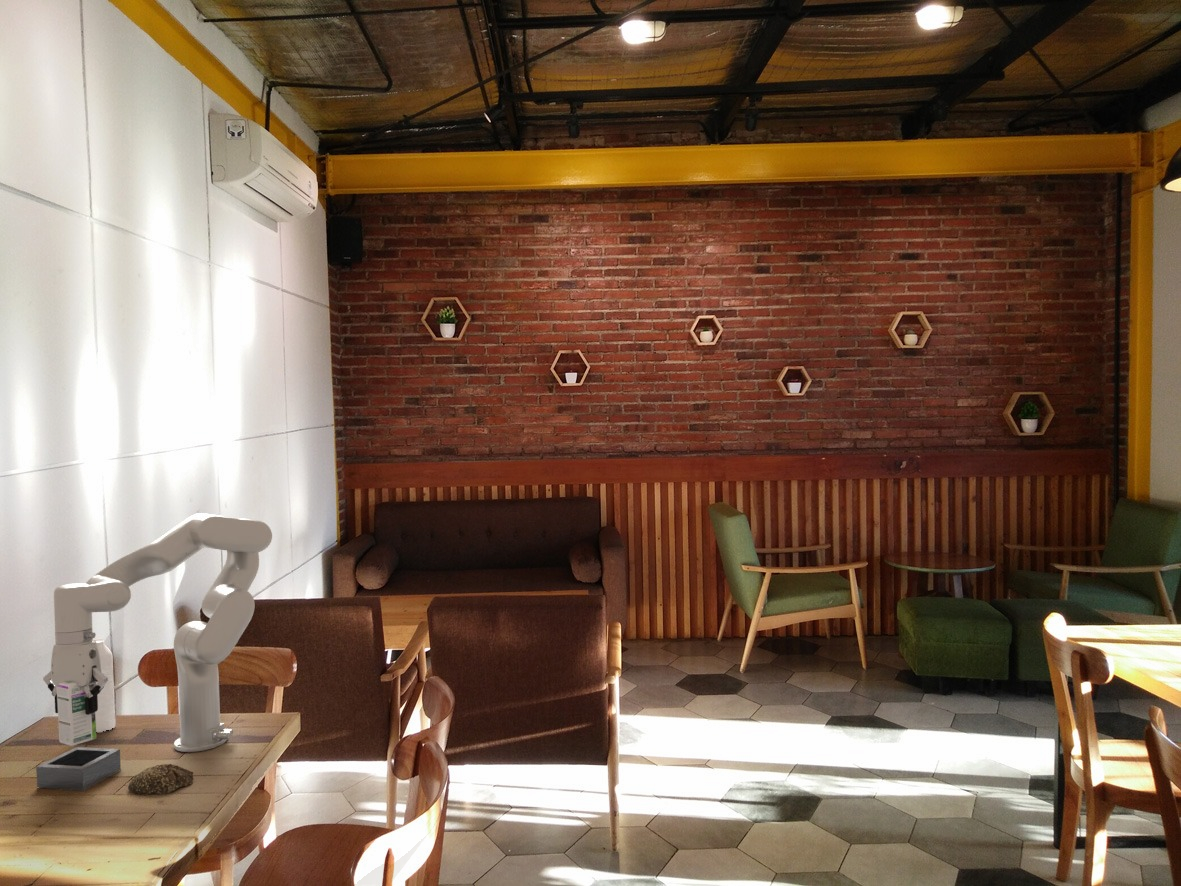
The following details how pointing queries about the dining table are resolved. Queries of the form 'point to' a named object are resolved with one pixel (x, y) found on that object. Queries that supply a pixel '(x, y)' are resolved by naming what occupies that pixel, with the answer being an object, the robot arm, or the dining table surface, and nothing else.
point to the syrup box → (74, 715)
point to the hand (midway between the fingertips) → (76, 711)
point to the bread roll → (160, 780)
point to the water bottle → (105, 690)
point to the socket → (78, 768)
